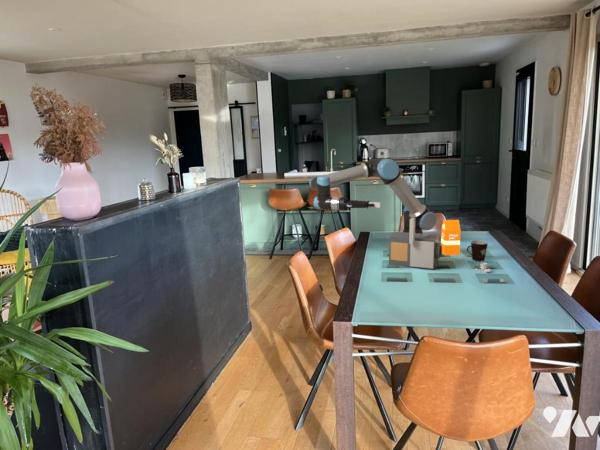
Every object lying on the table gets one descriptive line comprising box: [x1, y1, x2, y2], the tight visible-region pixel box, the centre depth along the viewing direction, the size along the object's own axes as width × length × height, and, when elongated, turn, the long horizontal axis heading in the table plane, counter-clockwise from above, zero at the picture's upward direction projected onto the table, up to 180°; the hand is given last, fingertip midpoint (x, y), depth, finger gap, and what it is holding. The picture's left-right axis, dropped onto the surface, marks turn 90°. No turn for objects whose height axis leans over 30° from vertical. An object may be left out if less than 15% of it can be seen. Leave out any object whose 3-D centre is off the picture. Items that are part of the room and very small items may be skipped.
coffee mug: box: [466, 240, 489, 262], centre depth 251 cm, size 12×9×10 cm
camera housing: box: [388, 231, 443, 271], centre depth 246 cm, size 12×26×17 cm, turn 64°
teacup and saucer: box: [475, 262, 493, 273], centre depth 233 cm, size 9×8×4 cm
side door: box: [409, 218, 434, 270], centre depth 235 cm, size 4×12×26 cm, turn 64°
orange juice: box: [440, 219, 462, 256], centre depth 265 cm, size 8×9×20 cm
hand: (380, 204), depth 249 cm, fingers closed
